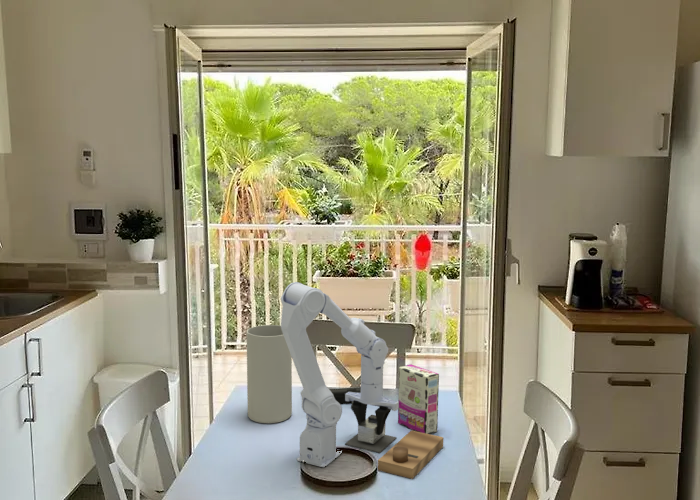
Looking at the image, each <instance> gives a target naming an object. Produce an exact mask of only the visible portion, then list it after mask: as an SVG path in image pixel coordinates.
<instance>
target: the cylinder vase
mask: <svg viewBox="0 0 700 500" xmlns="http://www.w3.org/2000/svg"><path fill="white" fill-rule="evenodd" d="M292 363H293V359H292V356H291V354H290V351H289V348H288V346H287V343H286V340H285V338H284V335H283V332H282V329H281V324H280V325H279V324H278V325H277V324H264V325H256V326H252V327H250V328H249V327H248V328H247V330H246V379H247V380H246V381H247V382H246V385H247V386H246V388H247V416H248V418H249V419H250V420H251V421H253V422H255V423H258V424H259V423H260V424H277V423H280V422H285V421H286V420H288V419H289V418H291V416H292V413H293V399H292V397H293V394H292V393H293V392H292V391H293V390H292V389H293V385H292V381H293V378H292V377H293V374H292V373H293V372H292V370H293V369H292V367H293V364H292Z"/></svg>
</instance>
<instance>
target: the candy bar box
mask: <svg viewBox="0 0 700 500" xmlns="http://www.w3.org/2000/svg"><path fill="white" fill-rule="evenodd" d="M439 382H440V373H438V372H435V371H432V370H430V369H425V368H424V367H420V366H418V365H414V364H407V365H403V366H399V367H398V398H397V399H398V400H397V401H398V402H399V409H398V410H397V424H399V425H401V426H403V427H406V428H408V429H410V430H412V431H417V432H421V433H426V434H431V435H433V434H435V433H437V432H438V423H439V422H438V420H439V418H438V416H439V415H438V414H439V389H440V388H439V387H440V386H439Z"/></svg>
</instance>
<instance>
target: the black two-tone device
mask: <svg viewBox="0 0 700 500" xmlns="http://www.w3.org/2000/svg"><path fill="white" fill-rule="evenodd" d="M328 389H329V390H330V391H331V392H332V394H333V395H334V398H335V400H336V401H337V402H339V403H340V405H353V401H345V394H346V393H348V392H355V393H361V386H359V387H343V388H328Z"/></svg>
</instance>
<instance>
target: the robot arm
mask: <svg viewBox="0 0 700 500" xmlns="http://www.w3.org/2000/svg"><path fill="white" fill-rule="evenodd" d="M280 302H281V304H282V309H281V318H280V319H281V320H280V326H281V329H282V332H283V335H284V338H285V340H286V343H287V346H288V348H289V351H290V354H291V356H292V363H293V364H294V368H295V370H296V372H297V375H298V379H299V381H300V383H301V386H302V390H301V391H300V395H301V409H302V411H303V412H304V413H305V414H306V416H305V419H306V426H305V428H304V430H303V431H302V432H301V433H300V436H299V456H298V457H296V461H298V462H301V461H302V460H304V461H305V462H306V463H305V464H308V465H313V466H317V467H320V468H325V466H326V467H327V466H328V465H330V464H331V463H332V462H333V461H335V458H336V459H337V458H338V457H339V456H341V455H342V454H343V453H342V451H343V450H341V451H337V452H336V449H337V425H338V422H339V421H340V420H341V417H342V415H343V414H342V413H343V407H342V404H340V403H339V402H337V401H336V400H335V398H334V395H333V394H332V392H331V391H330V390H329V389H330V388H328V386H327V385H326V383H325V380H324V377H323V375H322V372H321V368H320V365H319V363H318V360H317V357H316V354H315V352H314V349H313V346H312V343H311V340H310V338H309V335H308V332H307V328H308V327H309V326H310V325H311V324H312V322H313V321H314V319H316V317H317V316H319V314H322V315H324V316H326V317H327V318H328V319H329V320H330V321H332V322H333V323H335V325H336V326H338V327H339V328H341V330H340V333H341V336H342V337H343V338H344V339H346V340H347V341H348V343H350V344H352V345H353V347H355V349H356V353H358V354H360V387H361V393H355V392H348V393H346V394H345V401H353V405H352V404H350V409H351V411H352V413H353V414H354V416H355V419H356V422H357V426H358V425H359V424H361V423H362V422H363V421H365V420H366V419H367V416H366V415H367V408H368V405H370V406H375V407H378V408H376V409H375V411H374V415H376V419H377V435H380V434H382V433H383V429H384V425H385V426H386V422H387V420H388V417H389V415H390V413H391V411H392V412H393V411H394V412H396V411H398V409H399V402H398V400H393V399H391V398H389V397H387V396H384V393H383V392H384V391H383V389H384V365H385V361H386V360H385V359H386V357H387V355H388V352H389V349H390V348H389V347H388V346H387V342H386V340H384V338H381V337H378V336H376V335H377V334H376V331H375V330H373V329H370V328H369V327H368V326H367V325H366V324H365V320H364V319H362V318H360V317H359V318H357V317H349V316H348V314H347V313H346V312H345V311H343V310H342V308H341V307H340V306H339V305H338V303H336V302H335V301H334V300H333V299H332V298H331V297H330V296H329V295H328V294H327V293H325V292H323V290H321V289H320V288H317V287H312V286H309V285H305V284H303V283H301V282H298V281H295V282H291V283H289V284H288V285H287V286H286V288H285V289H284V291H283V293H282V294H281V296H280ZM339 452H340V453H339ZM341 453H342V454H341ZM340 454H341V455H340Z"/></svg>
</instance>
